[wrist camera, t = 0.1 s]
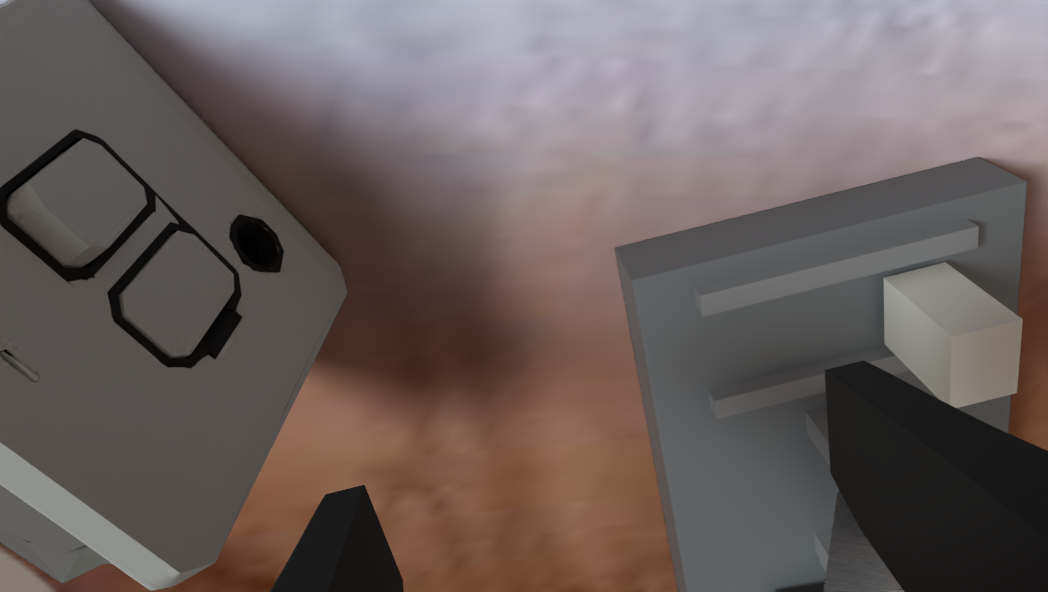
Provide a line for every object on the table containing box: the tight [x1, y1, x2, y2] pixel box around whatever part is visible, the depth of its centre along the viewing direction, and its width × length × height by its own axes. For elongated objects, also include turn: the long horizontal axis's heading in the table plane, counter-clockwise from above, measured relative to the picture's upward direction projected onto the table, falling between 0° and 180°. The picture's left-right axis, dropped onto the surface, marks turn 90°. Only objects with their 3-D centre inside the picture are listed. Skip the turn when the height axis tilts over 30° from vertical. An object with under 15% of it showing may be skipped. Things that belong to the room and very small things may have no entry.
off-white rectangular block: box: [884, 262, 1023, 408], centre depth 20 cm, size 2×2×3 cm
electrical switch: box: [0, 0, 347, 591], centre depth 16 cm, size 9×5×9 cm, turn 35°
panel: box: [615, 157, 1027, 592], centre depth 24 cm, size 17×10×4 cm, turn 12°
